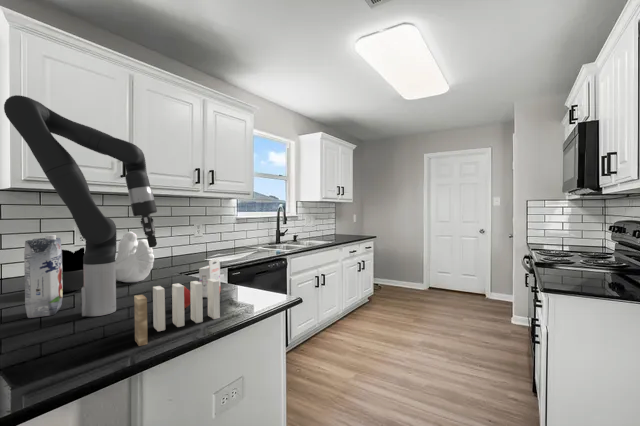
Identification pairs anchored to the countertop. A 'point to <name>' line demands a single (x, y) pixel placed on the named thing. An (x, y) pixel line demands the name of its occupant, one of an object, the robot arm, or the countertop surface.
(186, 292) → the onion
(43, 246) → the juice carton
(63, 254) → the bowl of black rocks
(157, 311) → the domino
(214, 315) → the domino
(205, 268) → the ink cartridge box
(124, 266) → the decorative rooster
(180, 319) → the domino
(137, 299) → the maple tile
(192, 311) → the domino
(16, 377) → the countertop surface
